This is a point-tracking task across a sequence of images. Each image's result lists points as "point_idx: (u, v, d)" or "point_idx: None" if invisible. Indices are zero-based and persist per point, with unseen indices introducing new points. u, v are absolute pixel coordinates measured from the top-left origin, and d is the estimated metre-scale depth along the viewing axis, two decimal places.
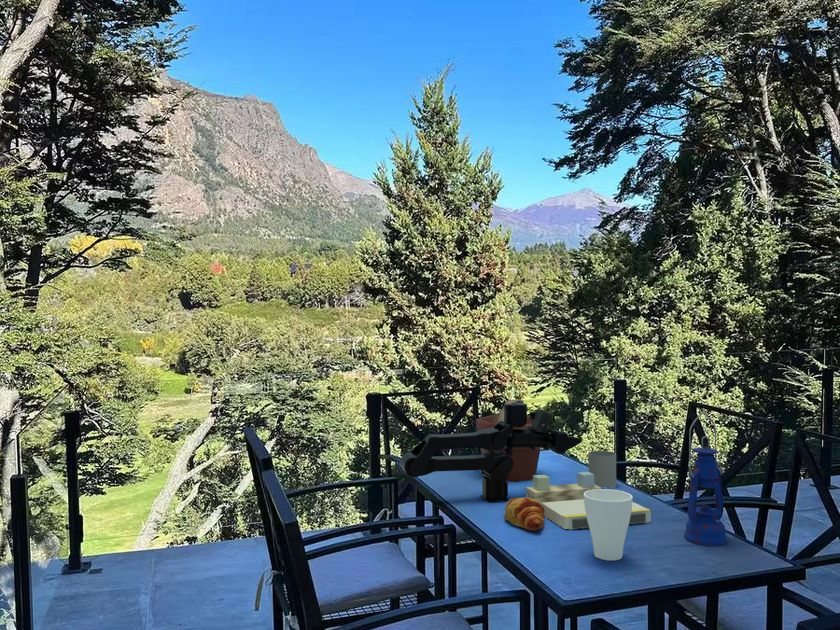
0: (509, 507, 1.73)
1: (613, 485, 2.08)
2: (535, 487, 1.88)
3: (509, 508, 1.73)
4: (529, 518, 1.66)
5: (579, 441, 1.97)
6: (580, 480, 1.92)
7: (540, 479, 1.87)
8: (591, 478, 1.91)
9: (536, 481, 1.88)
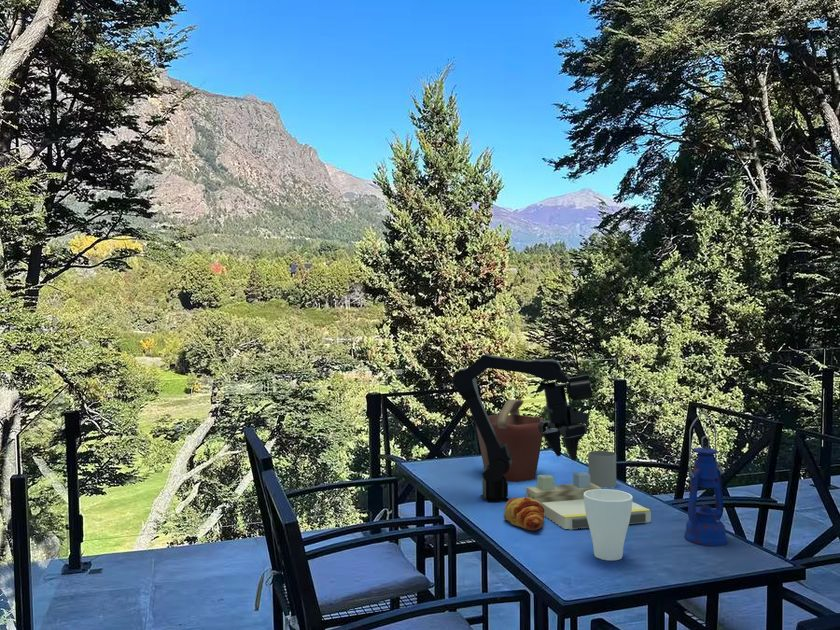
0: (508, 507, 1.73)
1: (613, 485, 2.08)
2: (539, 487, 1.89)
3: (508, 508, 1.73)
4: (528, 518, 1.66)
5: (573, 457, 1.86)
6: (576, 480, 1.91)
7: (544, 479, 1.87)
8: (587, 479, 1.90)
9: (540, 481, 1.88)
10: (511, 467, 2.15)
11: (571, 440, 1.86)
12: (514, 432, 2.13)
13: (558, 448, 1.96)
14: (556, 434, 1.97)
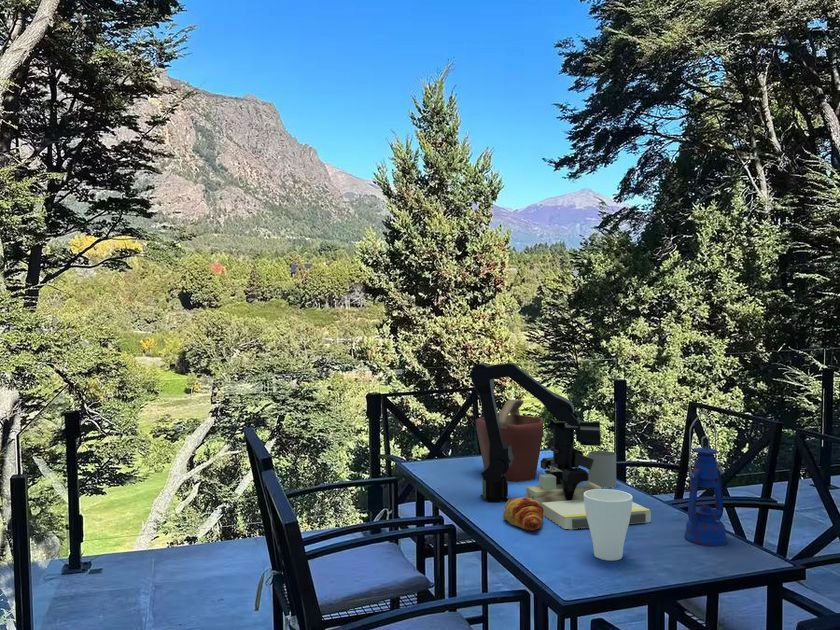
0: (508, 507, 1.73)
1: (613, 485, 2.08)
2: (541, 486, 1.89)
3: (507, 508, 1.73)
4: (527, 518, 1.66)
5: (568, 499, 1.87)
6: None
7: (546, 478, 1.87)
8: None
9: (542, 480, 1.88)
10: (511, 467, 2.15)
11: (569, 483, 1.86)
12: (514, 432, 2.13)
13: None
14: (559, 474, 1.94)
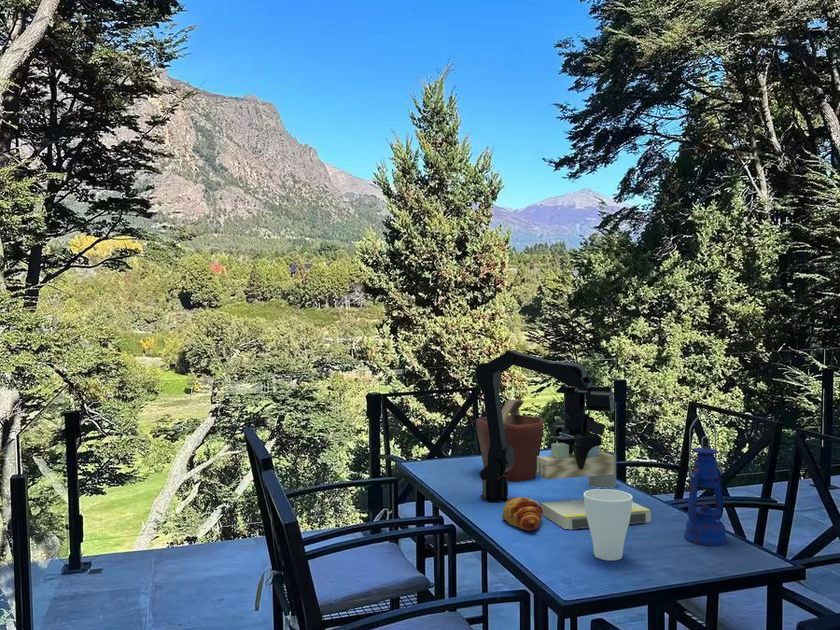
0: (506, 507, 1.73)
1: (613, 485, 2.08)
2: (554, 455, 1.83)
3: (506, 508, 1.73)
4: (524, 518, 1.66)
5: (580, 466, 1.81)
6: None
7: (559, 447, 1.82)
8: (596, 447, 1.85)
9: (555, 449, 1.83)
10: None
11: (581, 449, 1.81)
12: (514, 432, 2.13)
13: None
14: (570, 441, 1.89)
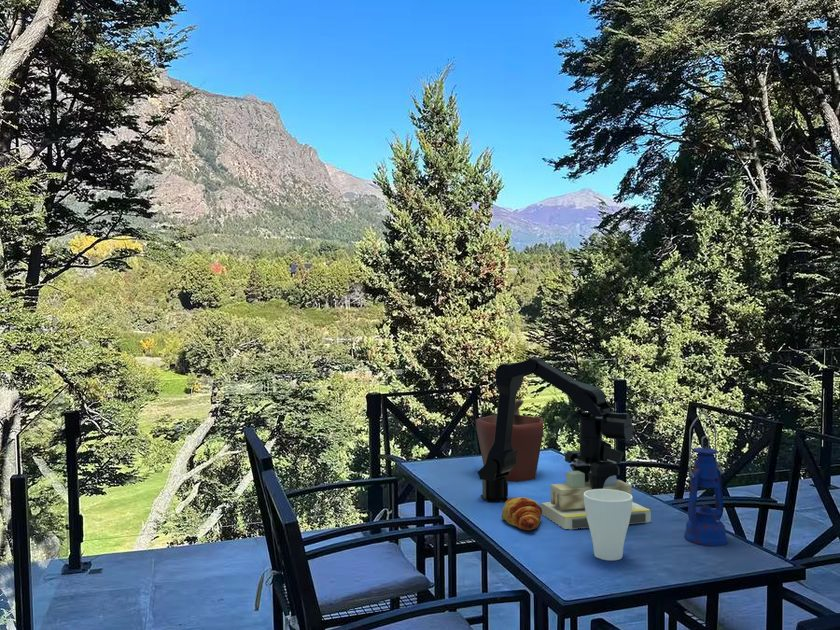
0: (505, 506, 1.73)
1: None
2: (569, 484, 1.76)
3: (505, 507, 1.73)
4: (523, 518, 1.66)
5: None
6: None
7: (574, 475, 1.74)
8: (613, 476, 1.77)
9: (570, 477, 1.75)
10: None
11: (598, 478, 1.73)
12: (514, 432, 2.13)
13: None
14: (586, 468, 1.81)
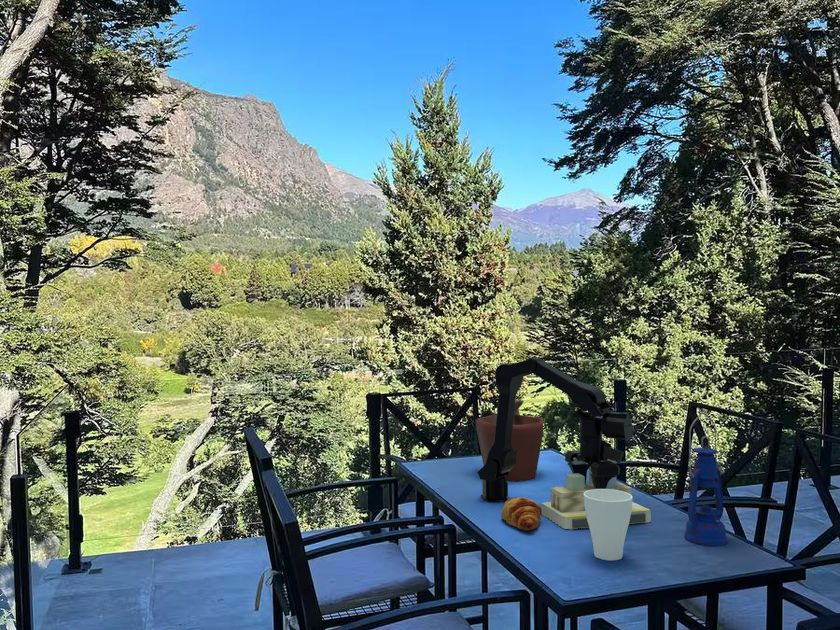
0: (505, 506, 1.73)
1: None
2: (569, 487, 1.76)
3: (505, 507, 1.73)
4: (522, 518, 1.66)
5: None
6: None
7: (574, 478, 1.74)
8: (613, 478, 1.77)
9: (570, 480, 1.75)
10: None
11: (601, 478, 1.72)
12: (514, 432, 2.13)
13: None
14: (583, 467, 1.82)
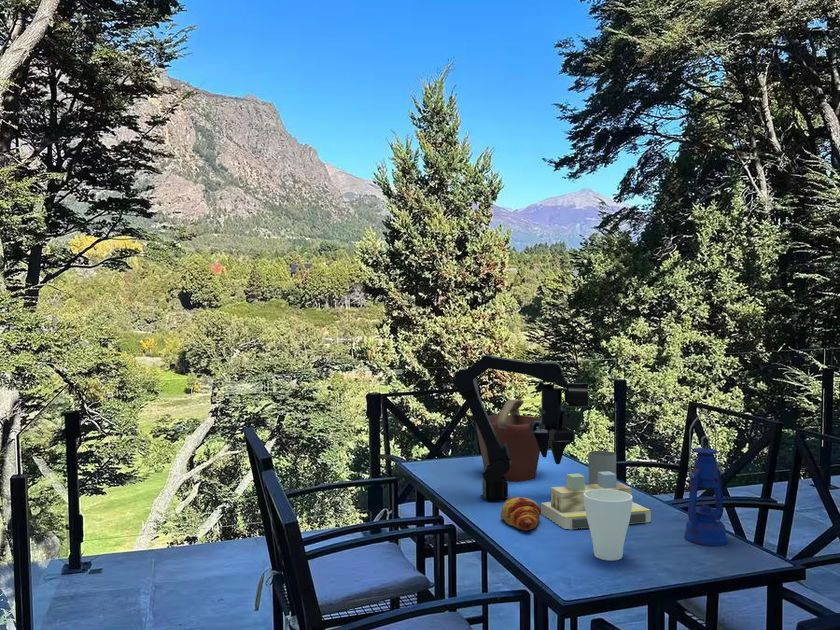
0: (504, 506, 1.74)
1: None
2: (569, 487, 1.76)
3: (504, 507, 1.73)
4: (521, 518, 1.66)
5: (557, 461, 1.88)
6: (601, 480, 1.78)
7: (574, 478, 1.74)
8: (613, 478, 1.77)
9: (570, 480, 1.75)
10: (511, 467, 2.15)
11: (558, 444, 1.87)
12: (514, 432, 2.13)
13: (545, 450, 1.97)
14: (545, 435, 1.98)
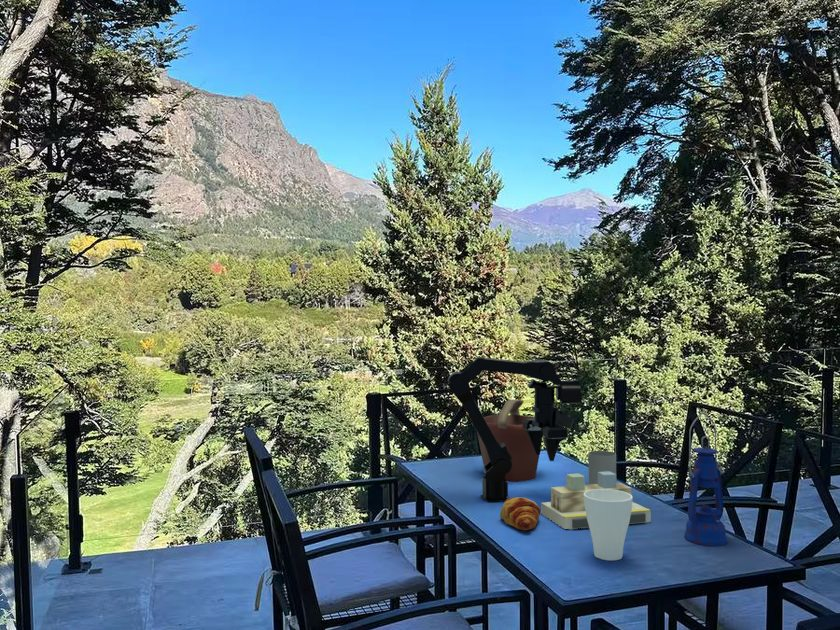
0: (503, 506, 1.74)
1: None
2: (569, 487, 1.76)
3: (503, 507, 1.73)
4: (520, 518, 1.67)
5: (551, 458, 1.91)
6: (601, 480, 1.78)
7: (574, 478, 1.74)
8: (613, 478, 1.77)
9: (570, 480, 1.75)
10: None
11: (552, 441, 1.90)
12: (514, 432, 2.13)
13: (538, 447, 2.00)
14: (539, 433, 2.01)
